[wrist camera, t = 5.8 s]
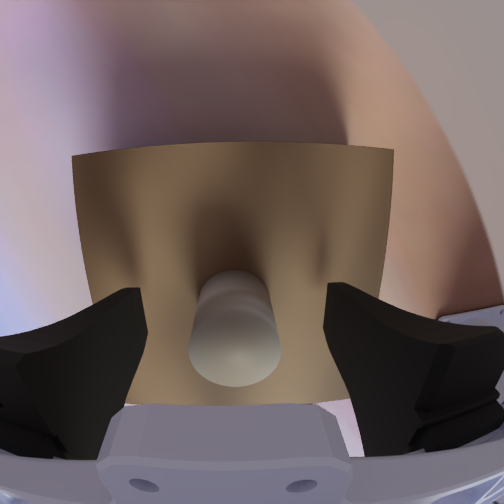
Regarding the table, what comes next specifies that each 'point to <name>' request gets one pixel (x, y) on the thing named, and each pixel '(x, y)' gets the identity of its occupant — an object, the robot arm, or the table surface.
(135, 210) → the cover
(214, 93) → the table surface
